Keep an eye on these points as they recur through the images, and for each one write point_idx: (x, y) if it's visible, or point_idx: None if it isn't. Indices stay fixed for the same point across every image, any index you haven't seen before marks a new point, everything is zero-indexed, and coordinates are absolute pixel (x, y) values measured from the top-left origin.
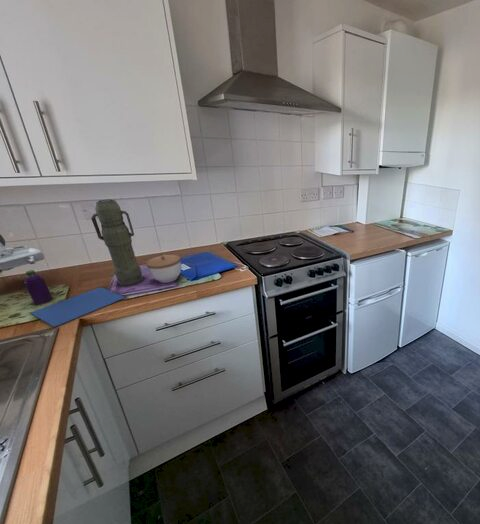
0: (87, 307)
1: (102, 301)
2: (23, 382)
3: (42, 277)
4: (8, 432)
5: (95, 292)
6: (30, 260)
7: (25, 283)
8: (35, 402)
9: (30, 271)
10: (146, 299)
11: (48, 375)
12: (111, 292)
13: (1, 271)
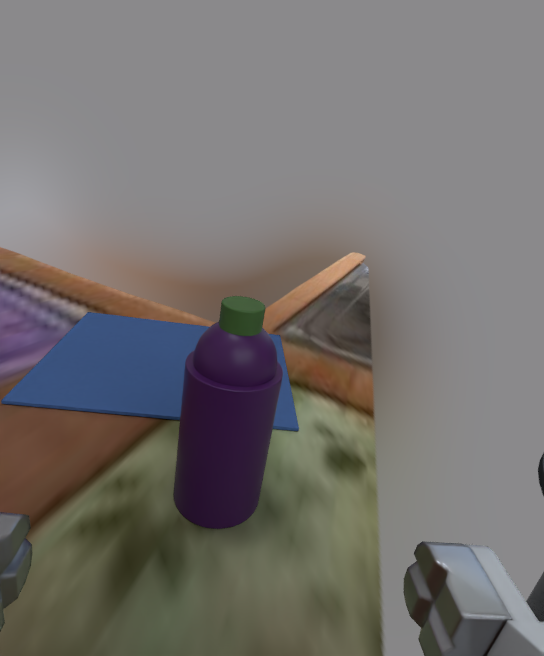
0: (179, 339)
1: (132, 333)
2: (351, 294)
3: (190, 357)
4: (366, 275)
5: (71, 381)
6: (6, 513)
7: (280, 368)
8: (344, 277)
9: (243, 299)
10: (85, 289)
11: (326, 286)
12: (60, 347)
13: (415, 578)
